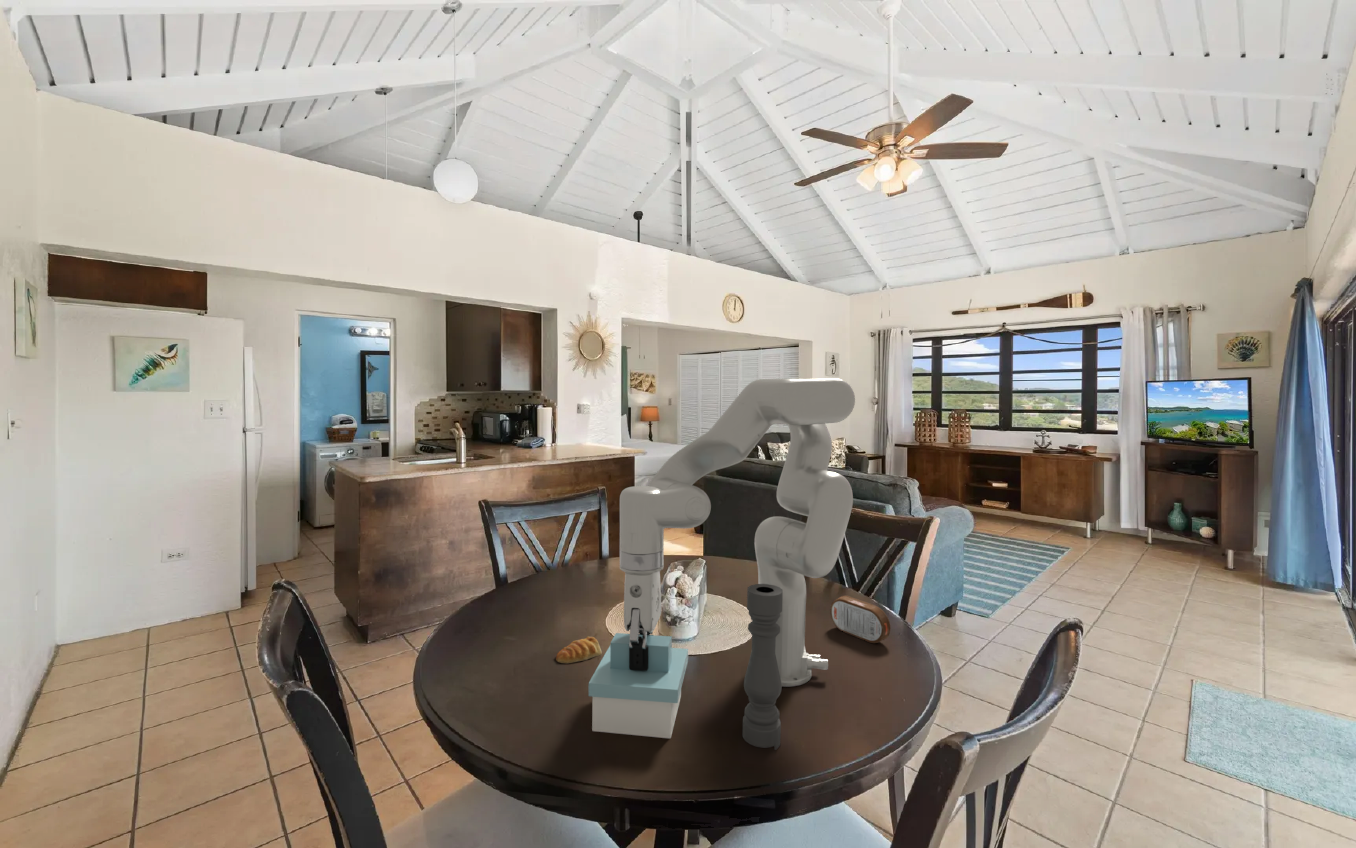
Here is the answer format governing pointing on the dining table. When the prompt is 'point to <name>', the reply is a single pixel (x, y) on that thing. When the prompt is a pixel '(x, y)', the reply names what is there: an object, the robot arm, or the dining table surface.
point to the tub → (634, 716)
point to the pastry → (579, 651)
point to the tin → (860, 619)
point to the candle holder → (763, 667)
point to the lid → (640, 685)
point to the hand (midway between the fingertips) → (641, 662)
